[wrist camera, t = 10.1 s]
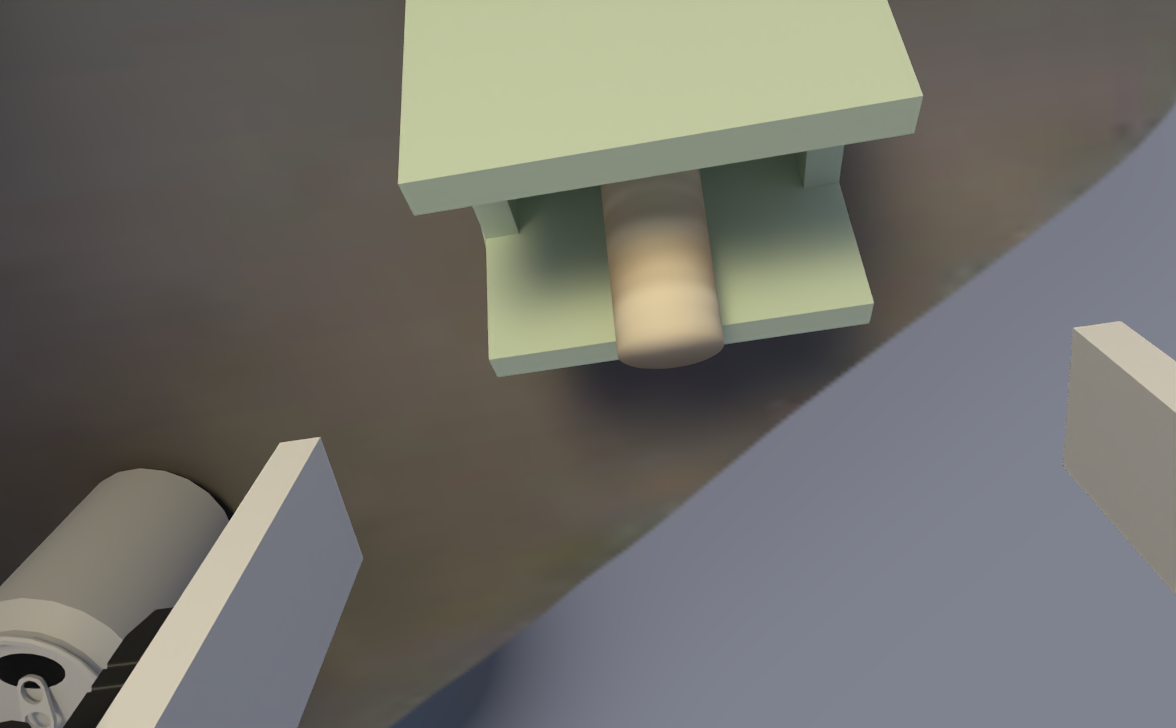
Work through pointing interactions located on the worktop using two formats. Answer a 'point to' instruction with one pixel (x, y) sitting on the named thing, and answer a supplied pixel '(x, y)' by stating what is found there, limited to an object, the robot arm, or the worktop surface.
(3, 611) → the can
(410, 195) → the socket
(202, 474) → the worktop surface
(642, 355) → the dowel
